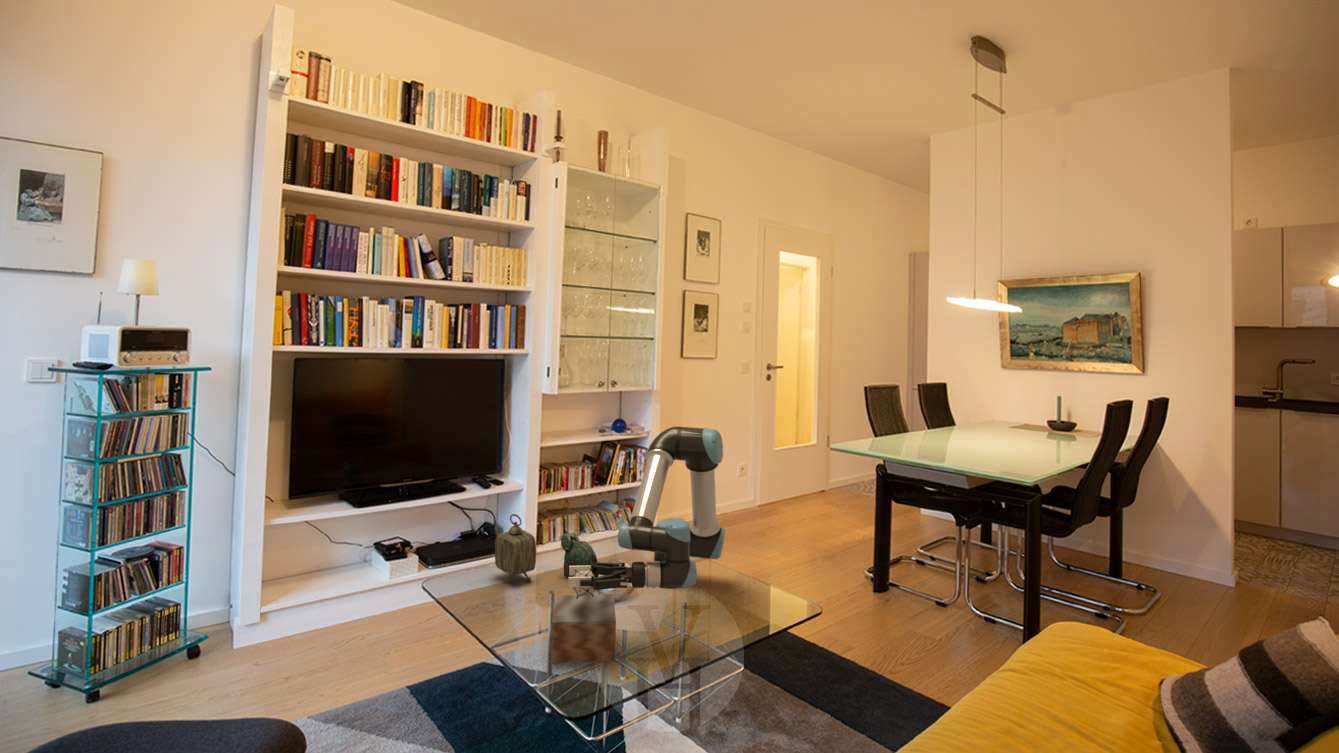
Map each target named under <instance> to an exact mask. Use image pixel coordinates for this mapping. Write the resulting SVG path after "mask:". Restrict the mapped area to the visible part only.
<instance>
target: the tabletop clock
mask: <svg viewBox="0 0 1339 753" xmlns="http://www.w3.org/2000/svg"><path fill="white" fill-rule="evenodd" d="M512 517H516V518H517V519H518V520H519V524H518V522H517V521H513V520H512ZM509 520H510V523H511V524H512V526H511V527H510V528H509V530H508V531H505V532H502V533H498V535H497V536H496V537H495V541H494V543H495V544H494V560H495V561H494V563H495V566H496V568H498V569H499V570H501V571H502V572H503V573H507V574H508V575H509V577H508V578H507V581H508V582H512V581H513V577H512V576H519V575H521V574H523V575H524V576H525V578H526V581H527V583H530V582H531V581H532V577H530V576H528V574H527V572H531V571H534V570H535V569H536V563H537V543H536V542H537V541H536V538H535V536H534V535H533V534H531V533H530V532H527V531H526V530H523V529H522V527H521V525H522V519H521V517H520V516H519V515H518V514H515V513H513V514H511V515H510V517H509Z"/></svg>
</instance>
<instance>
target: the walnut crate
mask: <svg viewBox="0 0 1339 753" xmlns="http://www.w3.org/2000/svg"><path fill="white" fill-rule="evenodd" d="M593 595H594V597H592V595H586V596H578V599H576V597H577V594H575V595H574V594H571V595H565V594H564V595H555V596H554V604H553V606H554V607H553V614H552V622H551V636H552V637H551V664H562V663H564V664H566V663H585V662H587V663H588V662H614V661H616V634H617V633H616V631H617V626H616V625H617V618H616V617H617V616H616V608H615V598H614V597H615V596H614V593H611V594H607V593H606V594H605V593H603V594H593Z"/></svg>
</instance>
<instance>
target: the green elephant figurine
mask: <svg viewBox="0 0 1339 753" xmlns="http://www.w3.org/2000/svg"><path fill="white" fill-rule="evenodd" d="M576 531H577V533H578V534H581V532H580V530H579V529H578V528H576V529H574V532H568V531H567V530H566V529H565V530H564V533H563V535H562V536H561V538H560V547H561V549H562V550H564V551H565V552H564V559H563V577H564V576H565V577H564V578H566V577H567V578H569V577H573V576H575V575H569V566H586V565H592V564H593V563H594V562H598V559H597V558H598V557H597V554H596V552H595V551H594V549H593V547H592V546H591V545H590V544H589V543H588V542H586V540H585V541H584V540H580V538H579V536H578V534H577V533H576ZM594 576H595V578H596V577H599V576H600V575H599V574H594ZM567 578H566V579H567Z"/></svg>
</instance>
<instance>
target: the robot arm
mask: <svg viewBox="0 0 1339 753" xmlns="http://www.w3.org/2000/svg"><path fill="white" fill-rule="evenodd" d="M723 449H724V444H723V438H722V434H721V433H720V431H719V430H717V429H713V428H708V427H704V428H702V427H700V428H699V427H688V426H672V427H669V428H666V429H664V430H663V431H661V432H660V433H659V434H658V435H657V436H656V437H655V438H654V439H653V440H652V442H651V443H650V445H649V447H648V448H647V452H646V454H645V459H646V461H647V462H646V466H645V469H644V472H643V476H642V479H641V483H640V484H639V489H638V492H637V496H636V499H635V502H634V505H633V509H632V513H631V516H630V520H629V523H628V522H627V523H626V522H625V523H624V522H623V523H622V524H621V525H620V526H619V528H618V532H617V543H618V546H619V547H620V548H622V549H627V550H630V551H631V550H632V551H633V550H635V551H643V552H645V551H646V552H652V553H653V560H652V561H651V560H649V561H646V562H644V561H632V563H631V566H630V567H629V566H626V563H625V562H619V563H618V562H599V561H597V562H594V563H593V564H592V565H586V566H579V565H578V566H569V575H575V573H576V572H575V570H577V571H585V570H590V568H592V570H591V571H592V573H593V575H594V574H599V575H598V577H596V578H594V576H591V577H569V578H568V581H567V582H568V585H567V586H568V588H573V587H592V588H594V591H600V590H609V589H611V590H613V589H627V588H628V584H631V587H632V588H633V589H643V588H652V589H656V588H664V587H676V588H685V587H686V588H687V587H688V588H689V587H693V586H695V584H696V583H697V577H698V576H697V575H698V574H697V565H696V562H695V561H693V560H690V558H699V559H704V560H705V559H706V560H719V559H721V557H722V553H723V548H724V544H725V543H724V542H725V539H726V537H725V536H726V528H724V527H721V522H720V521H719V519H717V507H716V506H717V503H716V502H717V500H716V479H715V478H716V477H715V476H716V475H715V470H716V469H717V468H718V466H719V464H720V463H722V462H723V461H722V460H723V457H724V450H723ZM674 461H683V462H684V461H685V462H684V463H685V467H686V469H687V470H688V471H689V473H690V489H691V506H692V511H691V512H692V520H691V521H690V523H689V524H688V522H687V521H686V519H684V518H680V517H672V518H670V517H669V518H665V519H662V520H659V521H658V522H657V523H656V524H655V519H656V517H657V513H658V509H659V506H660V501H661V497H662V494H663V491H664V487H665V483H666V479H667V475H668V472H669V468H670V467H672V466H673V464H674ZM654 524H655V526H654Z"/></svg>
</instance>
